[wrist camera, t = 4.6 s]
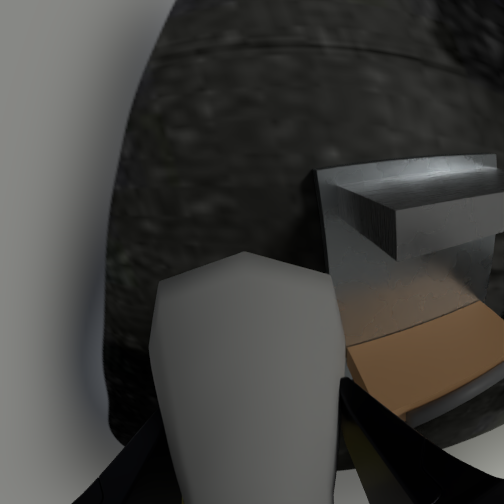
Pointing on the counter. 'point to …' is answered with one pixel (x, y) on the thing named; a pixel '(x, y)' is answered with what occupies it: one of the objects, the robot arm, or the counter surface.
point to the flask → (250, 381)
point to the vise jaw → (432, 363)
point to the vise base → (392, 280)
